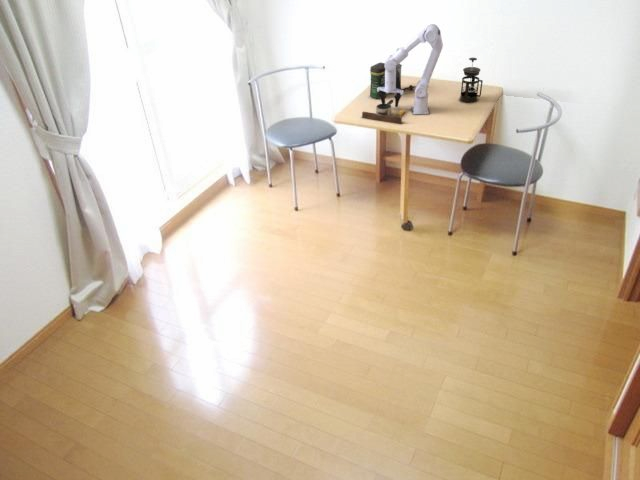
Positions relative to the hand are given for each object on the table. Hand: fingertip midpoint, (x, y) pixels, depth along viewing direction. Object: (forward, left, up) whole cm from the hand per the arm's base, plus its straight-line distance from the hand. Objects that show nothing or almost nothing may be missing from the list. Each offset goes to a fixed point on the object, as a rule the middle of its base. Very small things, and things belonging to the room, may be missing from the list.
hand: (390, 105), depth 280 cm
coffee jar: (-21, -6, -3) cm, 22 cm away
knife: (+9, +4, -3) cm, 10 cm away
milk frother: (-28, +7, -3) cm, 29 cm away
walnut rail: (+13, -5, -3) cm, 14 cm away
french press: (-10, +44, -3) cm, 45 cm away
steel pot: (+4, -2, -3) cm, 5 cm away
